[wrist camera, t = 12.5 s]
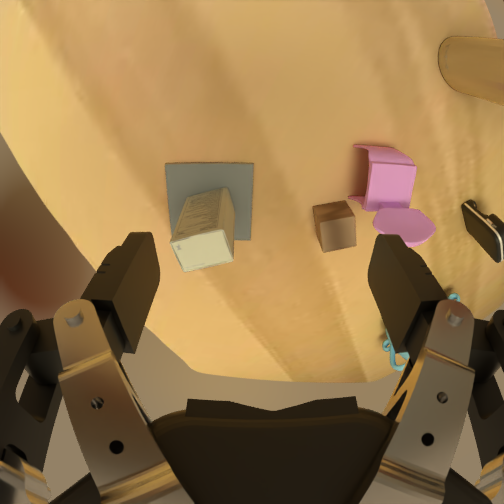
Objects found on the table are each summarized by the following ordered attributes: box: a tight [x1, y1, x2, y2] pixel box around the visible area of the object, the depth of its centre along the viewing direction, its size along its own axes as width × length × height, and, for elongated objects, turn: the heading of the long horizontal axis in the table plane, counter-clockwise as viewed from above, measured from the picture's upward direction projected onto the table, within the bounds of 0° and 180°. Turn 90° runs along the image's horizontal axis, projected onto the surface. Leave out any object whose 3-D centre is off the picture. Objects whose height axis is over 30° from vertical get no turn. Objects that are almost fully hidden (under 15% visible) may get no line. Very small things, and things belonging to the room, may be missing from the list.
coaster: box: [165, 162, 253, 240], centre depth 43 cm, size 12×12×1 cm
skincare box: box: [170, 187, 235, 272], centre depth 37 cm, size 6×4×12 cm
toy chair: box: [348, 145, 436, 247], centre depth 34 cm, size 8×9×15 cm
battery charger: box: [462, 200, 504, 263], centre depth 39 cm, size 7×4×11 cm, turn 37°
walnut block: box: [313, 200, 356, 253], centre depth 43 cm, size 5×5×5 cm
